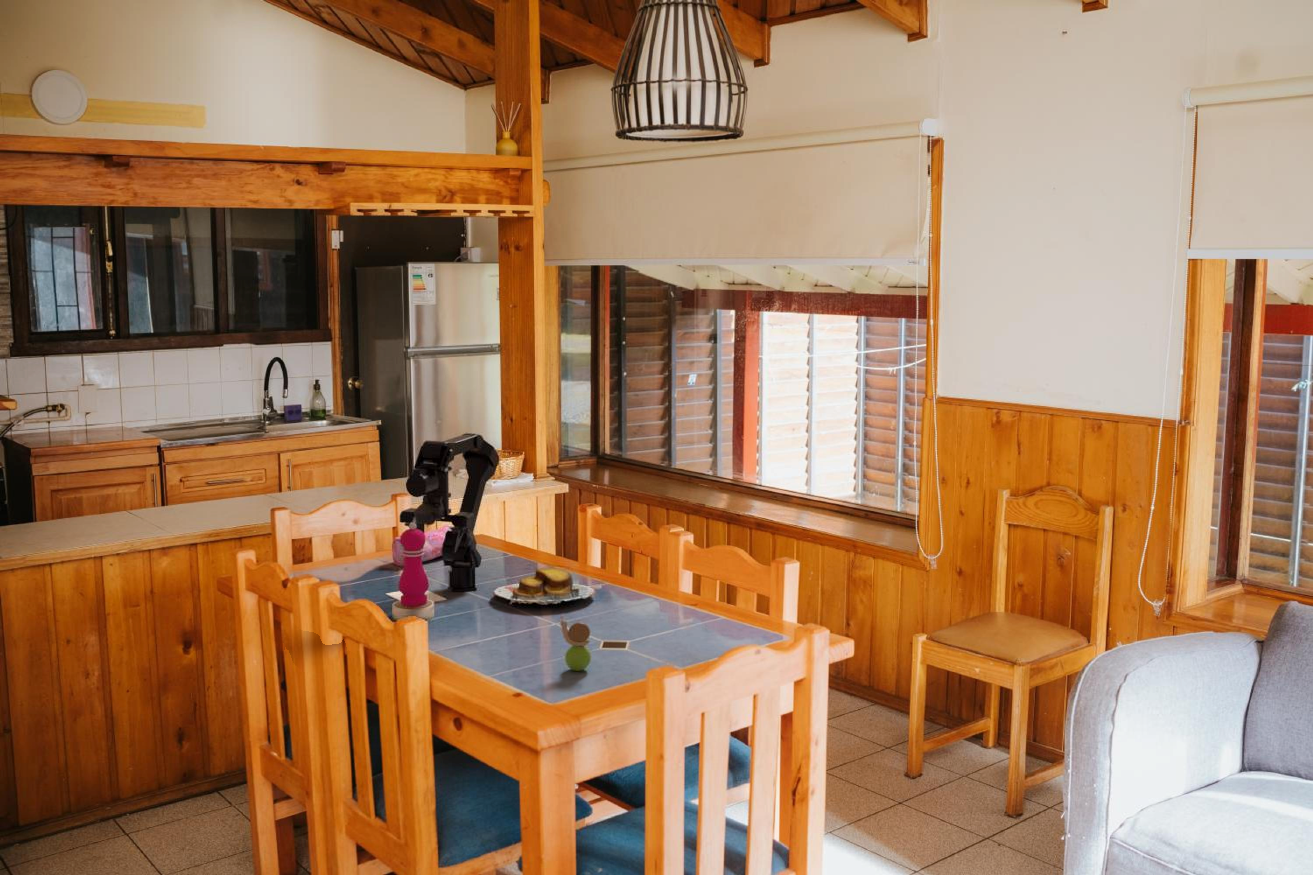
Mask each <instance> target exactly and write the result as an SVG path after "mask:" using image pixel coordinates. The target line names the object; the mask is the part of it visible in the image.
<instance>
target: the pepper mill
mask: <svg viewBox="0 0 1313 875" xmlns="http://www.w3.org/2000/svg"><path fill="white" fill-rule="evenodd" d="M408 528H409V529H406V530H404V531H403V532H402V533H401V535H400V536H401V538H400V543H401V545H402V546H403V547H404V549H403V555H404V558H405V564H404V566H403V570H402V572H401V575H400V578H399V580H398V591H400V592H401V593H402V594H403V595H402V596H401V604H402V605H404V606H409V607H415V606H422V605H425V604H426V603H427V595H425V592H426V591H429V588H430V584H429V579H428V576H427V573H426V572H425V570H424V566H423V562H422V555H423V554H424V553H423V550H424V549H423V548H422V547H423V546H424V544H425V541H426V539H425V535H424V533H425V532H424V533H423V532H422V531H421V530H418V529H416V524H415V523H411V524H410V525H409V527H408Z"/></svg>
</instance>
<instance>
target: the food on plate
mask: <svg viewBox="0 0 1313 875" xmlns="http://www.w3.org/2000/svg"><path fill="white" fill-rule="evenodd" d="M573 581H574V580H573V577H572V575H571V573H570V572H568V571H566V570H565V569H562V568H557V567H541V568H537V569H536V570H535V574H534V575H531V576H526V577H524V578H521V579H520V580H519V583H514V584H513V583H512V584H508V585H504V586H499V587H497V588H495V589H494V590H493V592H492V595H493V596H492V598H493V599H495V598H496V596H497V597H499V598H503V599H506V600H510V602H509V605H512V604H513V603H515V604H516V603H518V604H522V603H523V604H530V605H531V604H534V603H536V604H537V605H541V606H543V605H546V606H547V605H550V604H553V605H554V604H556V605H557V604H558V603H559V604H561V602H563V601H564V602H571V601H578V600H580V599H583V600H585V599H587V598H589V597H593V596H595V595H596V590H595V589H594V588H593V587H591V586H588V585H585V584H584V585H583V584H578V583H574V582H573Z"/></svg>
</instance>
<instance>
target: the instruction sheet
mask: <svg viewBox="0 0 1313 875" xmlns="http://www.w3.org/2000/svg"><path fill="white" fill-rule="evenodd" d="M385 595H386V596H388V597H391V598H393V599H395V600H396V601H400V600H401V596H402V595H403V594H402V593H401V592H400V590H398V591H393V592H392V591H391V592H388V593H385ZM425 595H427V599H428V600H431V601H433V602H434V603H437V602H442V601H447V600H448V599H447V598H446V597H443V596H442V595H441V596H440V595H439V594H436V593H434V592H432V591H429V590H427V591H426V592H425Z"/></svg>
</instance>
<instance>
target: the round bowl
mask: <svg viewBox="0 0 1313 875" xmlns="http://www.w3.org/2000/svg"><path fill="white" fill-rule="evenodd" d="M391 607H392V608H391V609H392V610H391V613H392V616H391V617H392V620H393V619H394V620H395V621H397V619H399V618H405V617H408V616H416V617H418V618H422V619H425V621H428V620H431V619H433V618H434V617H435V602H433V601H431V600H428V599H427V603H426V604H425V605H422V606H415V607H409V606H404V605H402V604H401V600H400V601H399V600H396V601H395V602H393V603H392V605H391Z"/></svg>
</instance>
